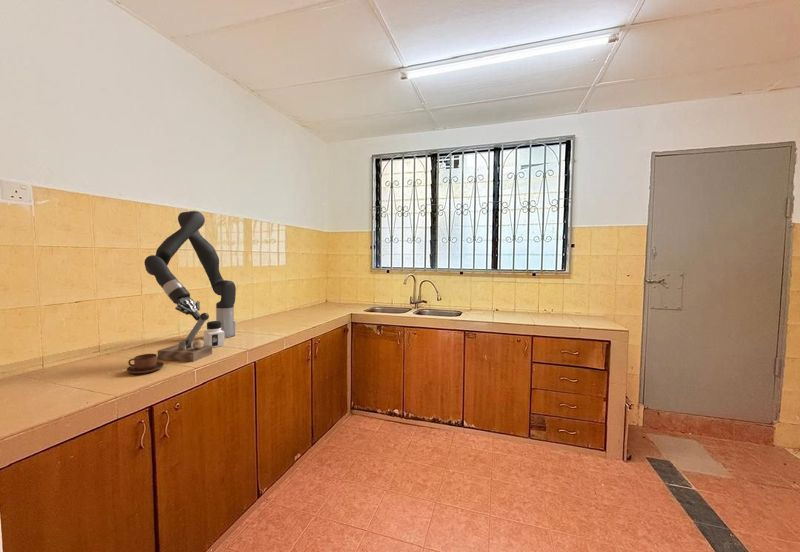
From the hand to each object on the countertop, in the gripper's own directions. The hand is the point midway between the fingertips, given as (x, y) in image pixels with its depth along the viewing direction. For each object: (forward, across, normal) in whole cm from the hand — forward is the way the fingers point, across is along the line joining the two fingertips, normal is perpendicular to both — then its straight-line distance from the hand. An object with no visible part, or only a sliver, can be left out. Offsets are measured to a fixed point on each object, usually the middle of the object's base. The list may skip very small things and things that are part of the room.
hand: (199, 319), depth 152 cm
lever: (+4, 0, +15) cm, 16 cm away
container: (+8, +20, +18) cm, 28 cm away
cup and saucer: (+8, -20, +19) cm, 28 cm away
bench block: (+8, 0, +18) cm, 20 cm away
